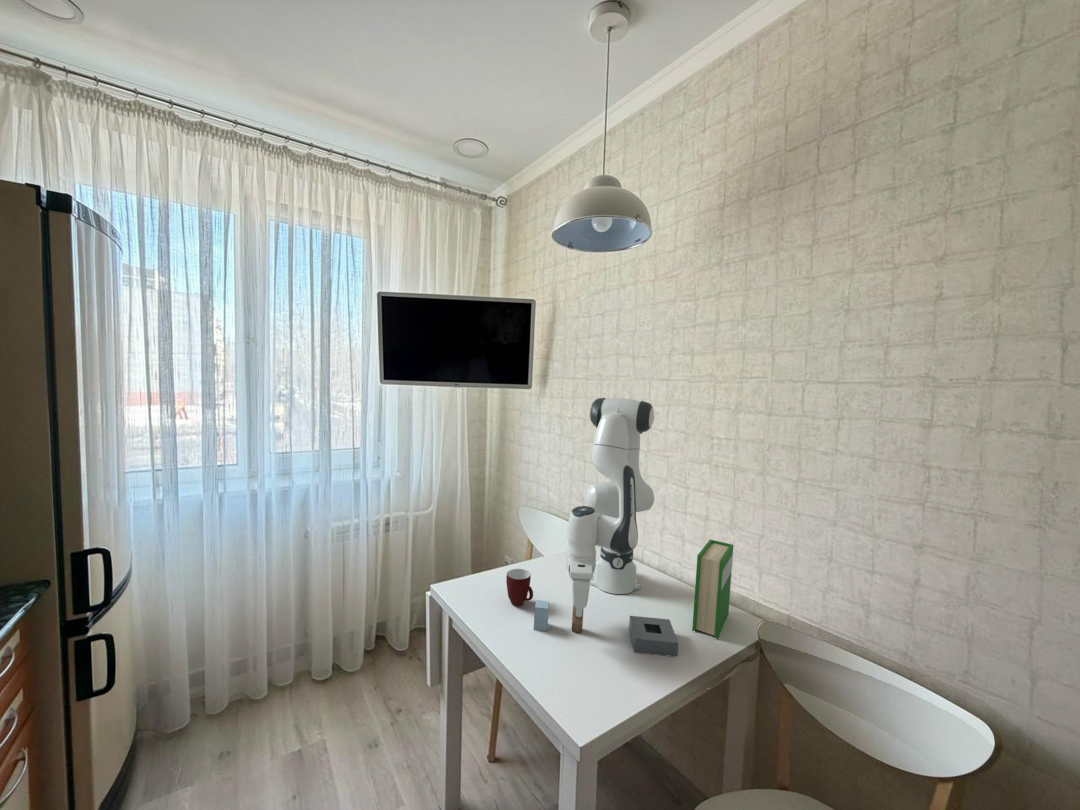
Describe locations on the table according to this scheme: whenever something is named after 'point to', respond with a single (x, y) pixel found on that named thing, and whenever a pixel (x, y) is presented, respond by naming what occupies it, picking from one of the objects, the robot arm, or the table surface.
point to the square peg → (541, 615)
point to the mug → (518, 586)
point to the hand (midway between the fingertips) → (578, 607)
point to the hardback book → (712, 587)
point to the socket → (653, 636)
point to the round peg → (576, 621)
